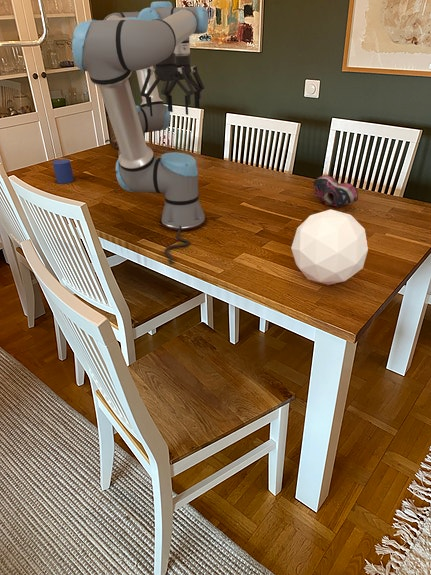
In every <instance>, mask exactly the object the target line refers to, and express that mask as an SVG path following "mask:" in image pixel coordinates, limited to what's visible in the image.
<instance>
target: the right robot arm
mask: <svg viewBox="0 0 431 575" xmlns="http://www.w3.org/2000/svg"><path fill="white" fill-rule="evenodd" d="M139 12H140V13H139V15H138V20H131V19H130V20H104V19H102V20H100V19H99V20H96V19H92V20H84V21H81V22H78V24H77V25H76V26H75V28H74V31H73V33H72V41H71V49H72V50H71V52H72V57H73V61H74V63H75V66H76V67H77V68H78V70H80V71H82V72H85V73H88V77H89V79H90V82H91V83H92V84H93V85H96V86H98V89H99V92H100V94H101V98H102V101H103V104H104V107H105V110H106V112H107V117H108V120H109V122H110V125H111V128H112V132H113V134H114V137H115V140H116V143H117V147H119V149H120V152H121V154H120V155H119V156H118V158H117V160H116V163H115V172H116V173H115V176H116V180H117V182H118V184H119V186H120V188H122V189H123V190H124V191H126V192H132V193H138V194H139V193H147V194H148V193H149V194H163V195H164V204H163V209H162V213H161V219H160V220H161V225H162V227H163V228H165V229H167V230H170V231H175V232H176V231H177V233H176V239H177V240H179V241H181V242H185V243H181V244H172V245H168V246H167V247H166V248H165V249H164V252H165V254H166V255H167V257H168V259H169V260H168V261H169V265H173V259H172V255H171V254H170V252H169V250H170V249H172V248H181V247H186V246H188V245H189V244H190V241H189V240H188V239H185V238H182V237H180V234H181V232H185V231H186V232H187V231H192V230H195V229H198V228H201V227H202V226H203V225H204V224H205V223H206V216H205V212H204V210H203V208H202V204H201V202H200V196H199V175H198V174H199V171H198V165H197V163H198V162H197V160H196V159H195V157H193V156H192V155H190V154H187V153H185V152H184V153H183V152H176V151H175V152H174V151H172V152H165V153H163V154H162V155H161V156H160V157H155V153H154V151H153V149H152V148H150V147H149V146H147V142H146V139H145V134H144V133H143V131H142V127H141V124H140V120H139V116H138V113H137V109H136V106H137V105H136V102H135V98H134V95H133V94H134V93H133V91H132V87H131V84H130V80H129V78H130V77H131V75H132V72H133V71H134V72H136V70H142V69H146V68H148V69H147V77H146V79H145V82H144V85H143V88H142V91H140V97H142V96H144V97H145V98H146V105H147V107H150V115H151V116H153V115H152V104H151V97H149V96H150V94H151V93H152V91H153V90H154V88H155V87H156V85H157V86H158V84H159V83H160V82H164V81H170V82H171V81H172V80H173V79H174V80H175V82H176V85H178V87H179V88H180V89H181V90H182V91H183V92H184V93H185V95H184V106H185V115H186V116H188V115H189V106H191V102H192V101H191V97H192V95H194V93H195V91H196V90H195V88H194V87H193V86H192V84H191V83H190V81H189V79H188V77H187V75H186V73H185V68H184V67H181V68H177V67H176V55H175V53H174V51H175V47H176V46H177V45H179V44H180V43H181V42H183V41H184V40H185V39H187V38H188V37H189V38H190V37H191V36H193V35H203V34H206V33H208V29H209V13H208V10H207V8H206V7H205V6H197V5H195V6H180V7H173V3H172V2H171V1H165V0H164V1H161V0H160V1H152V2H151V3H150V7H146V8H143V9H141V10H140V11H139ZM151 66H153V67H154V66H155V67H154V68H153V69H150V68H149V67H151ZM178 71H179V72H180V74H182V75H183V77H184V79H183V80H184V81H185V83H186V85H187V86H188V89H189V90H188V89H187V88H186V86H185V85H184V84H183V83H182V82H181V80H178V78H177V77H176V76H175V75H176V74H177V72H178ZM153 72H154V74H155V76H156V77H155V79H156V80H155V81H154V83H153V84H152V86H151V87H150V89H149V90H148V92H147V93H145V90H146V88H147V85H148V82H149V79H150V76H151V75H152V74H153ZM119 149H118V150H119Z"/></svg>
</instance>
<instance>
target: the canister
mask: <svg viewBox="0 0 431 575" xmlns="http://www.w3.org/2000/svg"><path fill="white" fill-rule="evenodd" d="M51 164H52V167H53V172H54V176H55V180H56V183H57V184H62V185H64V184H70V183H72V182H74V181H75V179H74V173H73V169H72V163H71V160H70V159H68V158H60V159H55V160H53V161H52V163H51Z"/></svg>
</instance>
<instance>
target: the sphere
mask: <svg viewBox="0 0 431 575" xmlns="http://www.w3.org/2000/svg"><path fill="white" fill-rule="evenodd" d="M290 250H291V252H292V255H293V259H294V263H295V265H296V267H297V268H298V269H299V270H300V272H301V273H302V274H303V275H304V276H305V277H306V279H307V280H309V281H311V282H315V283H319V284H323V285H327V286H329V285H335V284H339V283H343V282H346V281H348V280H349V279H351V278H352V277H353V276H354V275H356V274H357V273H358V272H360V271H361V270H363V269H364V265H365V262H366V259H367V254H368V251H369V248H368V241H367V233H366V228H364V226H363V225H362V224H361V223H360V222H359V221H357V219H355V217H354V216H353V215H352V214H350V213H347V212H346V213H345V212H342V211H339V210H334V209H331V208H330V209H327V210H324V211H321V212H317V213H313V214H310V215H309V216H307V218H305V220H304V221H303V222H302V223H301V224H300V225H299V226H298V227H297V228H296V230H295V234H294V237H293V241H292V244H291V249H290Z"/></svg>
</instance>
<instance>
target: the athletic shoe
mask: <svg viewBox="0 0 431 575" xmlns="http://www.w3.org/2000/svg"><path fill="white" fill-rule="evenodd" d="M312 186H313V190H314V191H315V193H311V195H312V196H314V197H318V199H319V200H320V202H321V203H322V202H323V203H324V204H325V205H326V206H331V207H336V208H340V207H342V206H343V207H344V206H346V205H350V204H352V203H354V202H357V201H358V200H359V193H358V190H357V188H356V187H355V186H354V185H353V184H352V183H349V182H342V183H339V181H338V180H337V179H336V178H335V177H333V176H331V175H329V174H327V175H326V174H324V175H320V176H319V177H317V178H316V179H315V180H314V182H313V185H312Z"/></svg>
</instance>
